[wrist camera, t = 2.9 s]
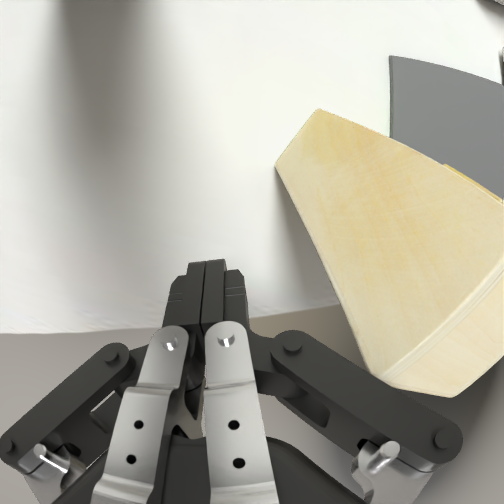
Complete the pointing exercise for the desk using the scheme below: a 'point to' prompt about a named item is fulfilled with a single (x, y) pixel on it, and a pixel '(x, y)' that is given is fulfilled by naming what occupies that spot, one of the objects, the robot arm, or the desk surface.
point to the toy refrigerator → (402, 252)
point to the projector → (500, 1)
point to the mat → (449, 118)
